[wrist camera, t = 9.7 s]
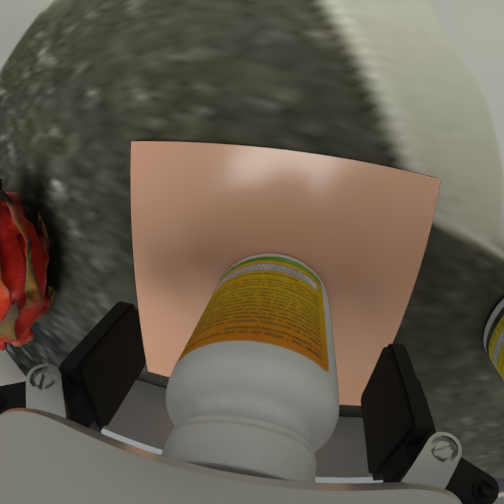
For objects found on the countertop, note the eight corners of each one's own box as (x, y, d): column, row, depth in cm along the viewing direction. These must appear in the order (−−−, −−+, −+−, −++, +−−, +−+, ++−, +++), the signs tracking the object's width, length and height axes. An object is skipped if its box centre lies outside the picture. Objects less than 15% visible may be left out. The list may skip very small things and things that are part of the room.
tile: (436, 178, 11) (441, 179, 11) (362, 400, 17) (363, 405, 16) (136, 140, 13) (131, 141, 12) (151, 366, 18) (148, 371, 18)
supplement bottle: (197, 274, 14) (87, 438, 6) (302, 231, 13) (297, 428, 4) (247, 356, 16) (202, 521, 7) (342, 327, 14) (361, 514, 5)
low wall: (379, 417, 17) (387, 476, 13) (373, 427, 18) (380, 483, 13) (129, 377, 19) (98, 426, 15) (132, 388, 20) (103, 436, 15)
